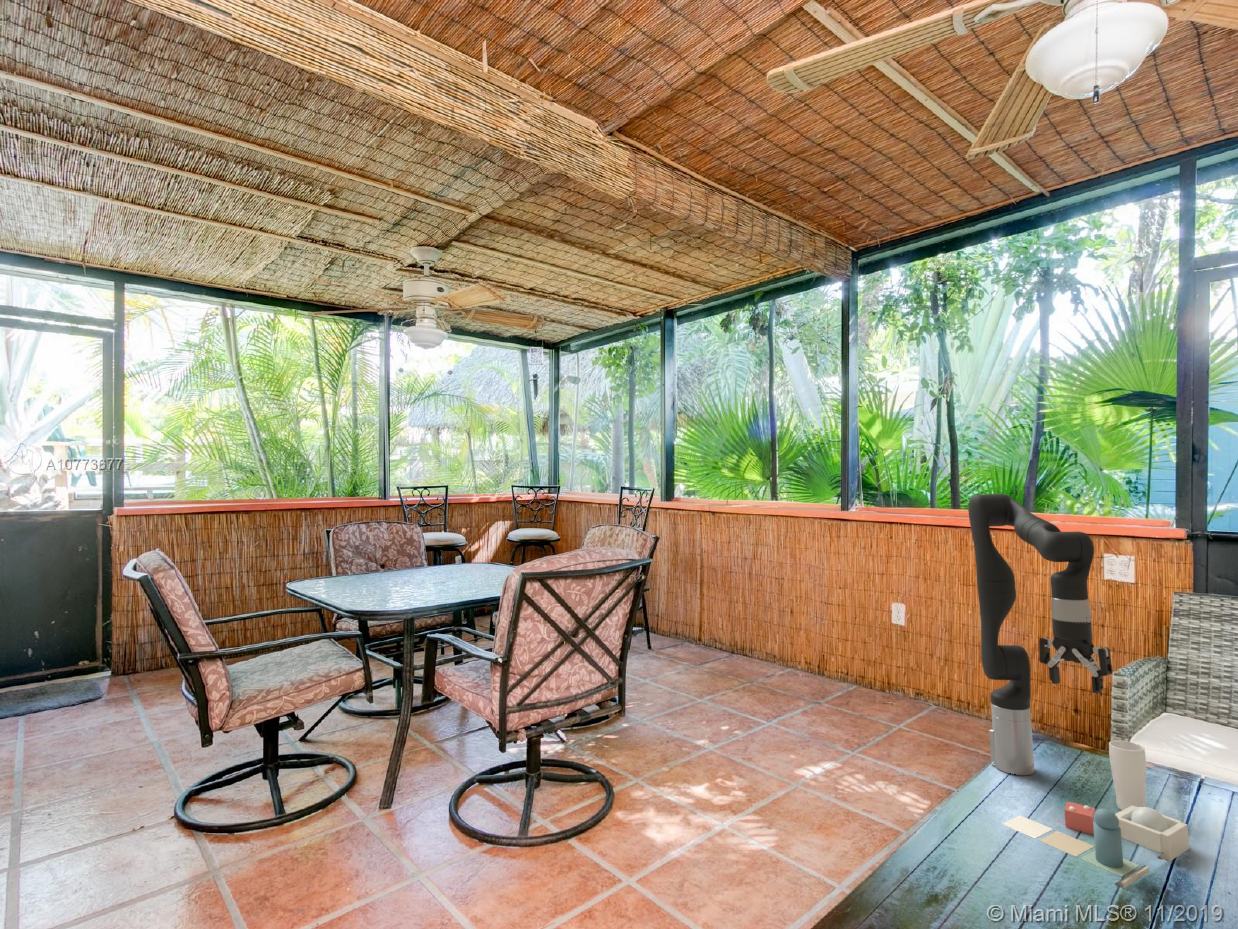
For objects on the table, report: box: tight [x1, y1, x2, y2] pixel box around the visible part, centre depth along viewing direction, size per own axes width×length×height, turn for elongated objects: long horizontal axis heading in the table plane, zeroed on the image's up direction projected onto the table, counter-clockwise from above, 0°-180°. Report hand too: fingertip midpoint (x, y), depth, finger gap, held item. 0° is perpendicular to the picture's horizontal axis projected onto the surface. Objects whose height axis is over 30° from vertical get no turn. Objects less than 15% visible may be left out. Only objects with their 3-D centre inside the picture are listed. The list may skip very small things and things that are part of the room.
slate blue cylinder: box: [1093, 808, 1124, 868], centre depth 127 cm, size 4×4×10 cm
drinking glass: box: [1108, 739, 1147, 811], centre depth 149 cm, size 7×7×15 cm
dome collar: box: [1114, 805, 1190, 862], centre depth 135 cm, size 10×10×5 cm
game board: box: [1001, 814, 1150, 889], centre depth 134 cm, size 25×10×1 cm, turn 28°
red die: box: [1064, 801, 1096, 836], centre depth 140 cm, size 5×5×6 cm
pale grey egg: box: [1131, 806, 1168, 832], centre depth 135 cm, size 6×6×7 cm
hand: (1076, 688), depth 146 cm, fingers open, 8 cm apart
